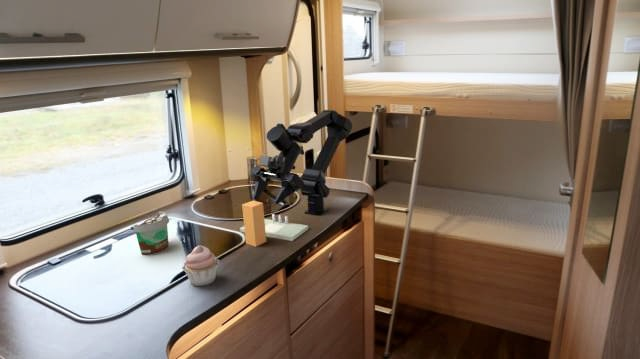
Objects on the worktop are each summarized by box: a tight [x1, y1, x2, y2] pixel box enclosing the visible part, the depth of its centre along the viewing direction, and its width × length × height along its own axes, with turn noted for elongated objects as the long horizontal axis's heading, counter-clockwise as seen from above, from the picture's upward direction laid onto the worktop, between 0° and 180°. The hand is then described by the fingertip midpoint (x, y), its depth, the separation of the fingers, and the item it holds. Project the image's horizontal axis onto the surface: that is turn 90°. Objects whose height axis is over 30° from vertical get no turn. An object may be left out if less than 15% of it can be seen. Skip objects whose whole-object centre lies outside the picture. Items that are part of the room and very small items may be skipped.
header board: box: [239, 213, 309, 242], centre depth 147 cm, size 10×20×4 cm, turn 62°
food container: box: [133, 211, 170, 256], centre depth 137 cm, size 12×6×10 cm, turn 161°
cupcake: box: [181, 245, 220, 287], centre depth 116 cm, size 9×9×10 cm
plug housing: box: [241, 200, 267, 247], centre depth 137 cm, size 4×4×13 cm
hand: (264, 201), depth 140 cm, fingers open, 9 cm apart
